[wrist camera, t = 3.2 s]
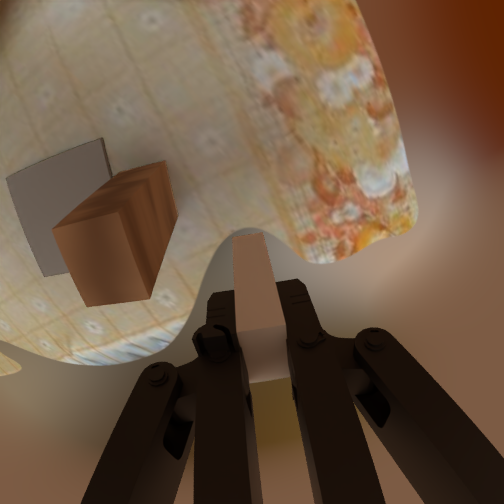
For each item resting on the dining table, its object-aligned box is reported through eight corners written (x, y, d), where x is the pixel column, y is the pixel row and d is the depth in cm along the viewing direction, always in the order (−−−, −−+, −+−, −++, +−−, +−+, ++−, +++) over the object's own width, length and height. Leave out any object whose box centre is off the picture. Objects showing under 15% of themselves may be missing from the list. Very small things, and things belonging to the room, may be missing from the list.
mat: (46, 274, 32) (44, 277, 31) (8, 176, 25) (5, 178, 24) (137, 257, 32) (136, 260, 31) (102, 138, 25) (100, 138, 24)
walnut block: (135, 224, 30) (86, 307, 18) (119, 171, 27) (51, 229, 15) (178, 215, 30) (149, 299, 18) (165, 160, 27) (118, 212, 15)
